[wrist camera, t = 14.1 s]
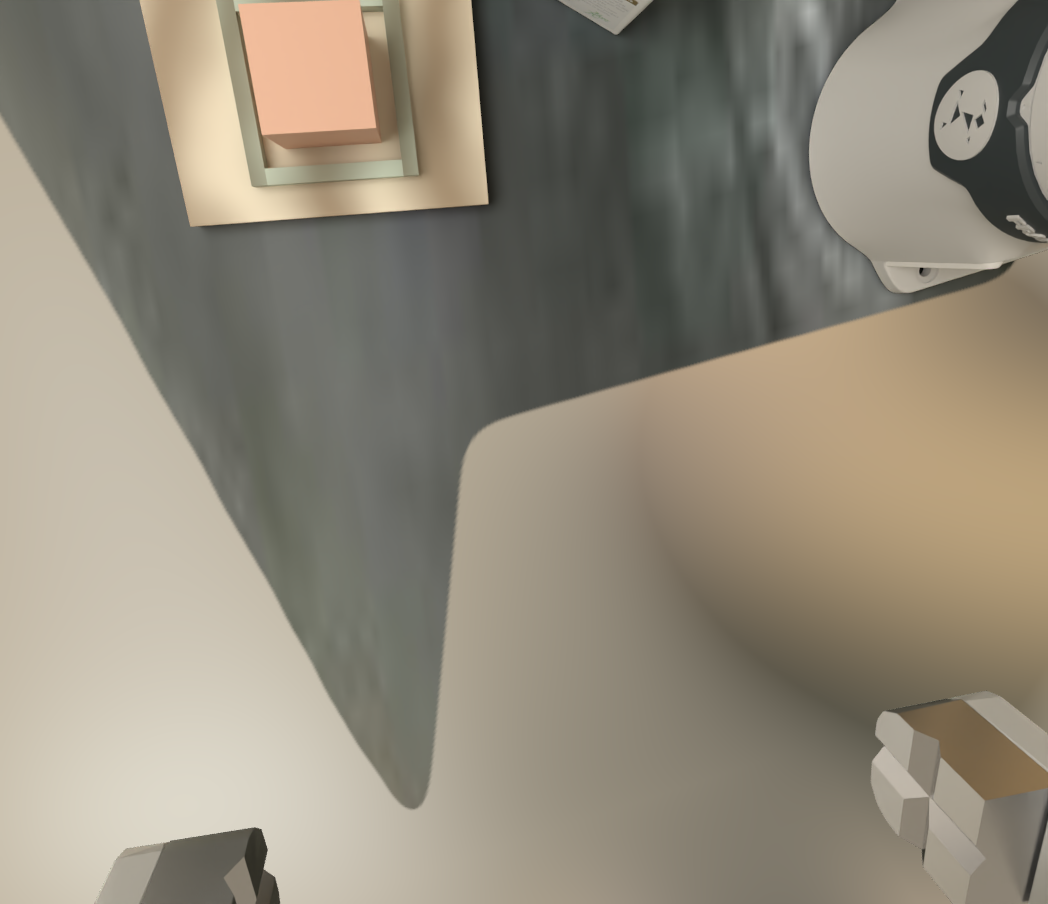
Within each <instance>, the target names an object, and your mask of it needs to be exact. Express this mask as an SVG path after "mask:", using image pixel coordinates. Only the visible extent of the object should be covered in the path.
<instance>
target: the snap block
mask: <svg viewBox="0 0 1048 904" xmlns="http://www.w3.org/2000/svg"><path fill="white" fill-rule="evenodd" d="M238 7H239V13H240V18H241V24H242V29H243V35H244V40H245V46H246V51H247V56H248V62H249V67H250V73H251V78H252V84H253V89H254V95H255V100H256V105H257V111H258V116H259V122H260V127H261V133H262V135H263V136H264V137H266V138H268V139H270V140H271V141H273V142H275V143H276V144H278V145H280V146H281V147H283V148H285V149H294V148H310V147H326V146H342V145H358V144H374V143H382V141H381V134H380V126H379V118H378V111H377V103H376V95H375V88H374V80H373V72H372V65H371V57H370V50H369V42H368V35H367V31H366V26H365V22H364V18H363V13H362V9H361V5H360V1H359V0H332V1H305V2H278V3H251V4H238Z"/></svg>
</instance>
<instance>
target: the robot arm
mask: <svg viewBox="0 0 1048 904" xmlns="http://www.w3.org/2000/svg"><path fill="white" fill-rule="evenodd" d="M809 165H810V174H811V180H812V185H813V189H814V192H815V195H816V198H817V201H818V203H819V206H820V208H821V210H822V212H823V214H824V216H825V217H826V219H827V221H828V222H829V223H830V225H831V226H832V227H833V229H834V230H835V231H836V232H837V233H838V234H839V235H840V236H841V237H842V238H843V239H844V240H845V241H846V242H848V243H849V244H851V245H852V246H853V247H855V248H856V249H858V250H859V251H861V252H862V253H863V254H864V255H866V256H867V257H868V258H869V259H870V260H871V262H872V264H873V266H874V268H875V270H876V272H877V274H878V276H879V278H880V279H881V281H882V283H883V284H884V285H885V287H886V288H887V289H888V290H889V291H891V292H893V293H911V292H915V291H918V290H921V289H924V288H928V287H931V286H934V285H937V284H940V283H944V282H947V281H950V280H953V279H956V278H960V277H963V276H966V275H969V274H972V273H976V272H979V271H982V270H985V269H996V268H999V267H1000V266H1001V264H1004V263H1008V262H1011V261H1014V260H1017V259H1020V258H1023V257H1027V256H1030V255H1033V254H1036V253H1040V252H1043V251H1046V250H1048V0H897V1H896V2H895V4H894V5H893V6H892V7H891V8H890V9H889V11H887V12H886V13H885V14H884V15H883V16H882V17H881V18H879V19H878V20H877V21H876V22H874V23H873V24H872V25H871V26H870V27H868V28H867V29H866V30H865V31H864V32H863V33H861V34H860V35H859V36H858V37H857V38H856V39H855V40H854V41H853V42H852V44H851V45H850V46H849V47H848V48H847V49H846V51H845V52H844V53H843V55H842V56H841V57H840V59H839V60H838V62H837V63H836V65H835V66H834V68H833V70H832V71H831V73H830V75H829V77H828V79H827V81H826V83H825V85H824V87H823V89H822V92H821V94H820V97H819V100H818V103H817V106H816V109H815V113H814V117H813V121H812V126H811V133H810V142H809ZM920 267H921V268H923V271H922V273H921V274H919V269H920ZM875 735H876V737H877V738H878V739H879V740H880V742H881V743H882V744H883V745H884V747H883V748H882V749H881V750H880V752H879V753H878V754H877V756H876V757H875V758H874V760H873V761H872V769H871V785H872V788H873V792H874V795H875V798H876V802H877V805H878V806H879V808H880V810H881V812H882V814H883V815H884V818H885V820H886V821H887V822H888V823H889V825H890V826H891V827H892V828H893V830H894V831H895V833H896V834H897V835H898V836H899V837H900V838H902V839H904V840H906V841H907V842H909V843H911V844H913V845H915V846H916V847H918V848H920V849H922V860H923V868H924V869H925V870H926V872H927V873H928V874H929V875H930V876H931V878H932V879H933V880H934V881H935V883H936V884H937V885H938V886H939V888H940V889H941V890H942V891H943V893H944V894H945V895H946V896H947V898H948V899H949V900H950V901H951V903H952V904H1048V734H1047V733H1046V732H1045V731H1044V730H1042V729H1041V728H1040V727H1038V726H1037V725H1036V724H1034V723H1033V722H1032V721H1031V720H1029V719H1028V718H1027V717H1025V715H1023V714H1022V713H1021V712H1020V711H1018V710H1017V709H1016V708H1015V707H1013V706H1012V705H1011V704H1009V703H1008V702H1007V701H1006V700H1004V699H1003V698H1002V697H1001V696H999V695H996V694H994V693H991V692H988V691H983V692H978V693H973V694H967V695H963V696H958V697H953V698H951V699H942V700H937V701H932V702H927V703H922V704H917V705H912V706H906V707H902V708H896V709H891V710H886V711H883V713H882V714H881V715H880V717H879V718H878V719H877V725H876V732H875ZM267 851H268V849H267V846H266V842H265V839H264V836H263V833H262V830H261V829H259V828H248V829H242V830H236V831H229V832H223V833H217V834H210V835H204V836H198V837H192V838H185V839H179V840H173V841H170V842H166V843H160V844H154V845H147V846H140V847H134V848H127V849H125V850H124V852H123V853H121V855H120V856H119V857H118V858H117V859H116V860H115V861H114V863H113V865H112V867H111V869H110V871H109V873H108V875H107V877H106V880H105V882H104V884H103V886H102V888H101V890H100V892H99V895H98V897H97V899H96V901H95V903H94V904H280V898H279V891H278V887H277V883H276V879H275V877H274V876H273V875H271V874H269V873H268V872H267V871H265V870H264V864H265V860H266V855H267Z"/></svg>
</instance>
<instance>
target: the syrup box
mask: <svg viewBox="0 0 1048 904" xmlns="http://www.w3.org/2000/svg"><path fill="white" fill-rule="evenodd" d="M558 1H560V2H562V3H563V4H565V5H567V6H569V7H570V8H572V9H573V10H575V11H577V12H578V13H580V14H582V15H583V16H585V17H587V18H588V19H590V20H592V21H593V22H595V23H597V24H598V25H600V26H602V27H603V28H605V29H607V30H608V31H610V32H612V33H613V34H615V35H617V34H619V33H620V32H621V31H622V30H623V29H624V28H625V27H626V26H627V25H628V24H629V23H630V22H631V21H632V20H633V19H634V18H636V16H637V15H639V14H640V13H641V12H642V11H643V10H644V9H645V8H646V7H647V6H648V5H649V4H650V3H651V2H652V1H653V0H558Z"/></svg>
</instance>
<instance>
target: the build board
mask: <svg viewBox="0 0 1048 904" xmlns="http://www.w3.org/2000/svg"><path fill="white" fill-rule="evenodd" d="M305 1H332V0H140V4H141V9H142V13H143V17H144V22H145V26H146V31H147V35H148V40H149V44H150V49H151V53H152V58H153V62H154V66H155V71H156V75H157V80H158V84H159V89H160V93H161V98H162V102H163V107H164V111H165V115H166V120H167V124H168V129H169V133H170V138H171V142H172V147H173V151H174V156H175V160H176V165H177V169H178V173H179V178H180V182H181V187H182V191H183V196H184V200H185V205H186V209H187V214H188V218H189V222H190V227H194V226H211V225H224V224H238V223H251V222H264V221H277V220H290V219H304V218H317V217H330V216H343V215H356V214H370V213H383V212H396V211H409V210H422V209H435V208H449V207H462V206H475V205H487V204H489V203H488V191H487V180H486V168H485V156H484V145H483V133H482V121H481V110H480V98H479V86H478V75H477V63H476V51H475V40H474V28H473V16H472V5H471V0H359V1H360V5H361V9H362V13H363V18H364V22H365V26H366V31H367V35H368V42H369V50H370V57H371V65H372V72H373V80H374V88H375V95H376V103H377V111H378V118H379V126H380V134H381V141H382V143H374V144H358V145H342V146H326V147H310V148H294V149H285V148H283V147H281V146H280V145H278V144H276V143H275V142H273V141H271V140H270V139H268V138H266V137H264V136H263V135H262V133H261V127H260V122H259V116H258V111H257V105H256V100H255V95H254V89H253V84H252V78H251V73H250V67H249V62H248V56H247V51H246V46H245V40H244V35H243V29H242V24H241V18H240V13H239V7H238V4H251V3H278V2H305Z"/></svg>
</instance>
